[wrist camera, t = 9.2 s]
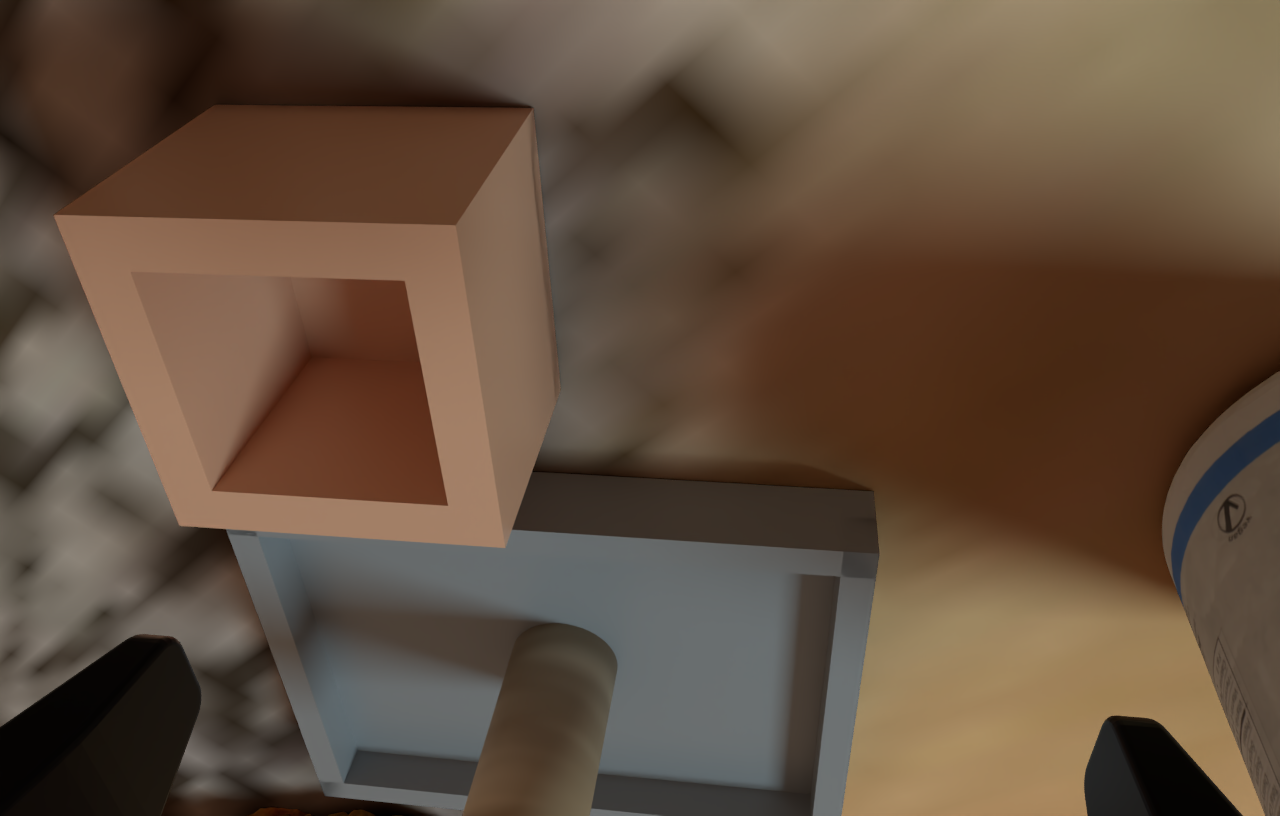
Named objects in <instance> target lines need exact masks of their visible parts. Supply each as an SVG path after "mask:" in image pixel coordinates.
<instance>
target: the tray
mask: <svg viewBox="0 0 1280 816" xmlns="http://www.w3.org/2000/svg"><path fill="white" fill-rule="evenodd" d="M226 531H227V533H228V536H229V539H230V542H231V544H232V547H233V550H234V552H235V555H236V558H237V560H238V563H239V566H240V568H241V571H242V574H243V577H244V579H245V582H246V585H247V587H248V590H249V593H250V595H251V598H252V601H253V604H254V606H255V609H256V612H257V614H258V617H259V620H260V622H261V625H262V628H263V630H264V633H265V636H266V639H267V641H268V644H269V647H270V649H271V652H272V655H273V657H274V660H275V663H276V666H277V668H278V671H279V674H280V676H281V679H282V682H283V684H284V687H285V690H286V692H287V695H288V698H289V701H290V703H291V706H292V709H293V711H294V714H295V717H296V719H297V722H298V725H299V728H300V730H301V733H302V736H303V738H304V741H305V744H306V746H307V749H308V752H309V754H310V757H311V760H312V763H313V765H314V768H315V771H316V773H317V776H318V779H319V781H320V784H321V787H322V790H323V792H324V795H325V796H330V797H340V798H350V799H359V800H369V801H379V802H388V803H398V804H408V805H417V806H427V807H437V808H446V809H456V810H464V808H465V805H466V801H467V798H468V795H469V792H470V788H471V785H472V782H473V778H474V775H475V772H476V769H477V765H478V762H479V759H480V755H481V752H482V749H483V745H484V742H485V739H486V736H487V732H488V729H489V726H490V722H491V719H492V716H493V713H494V709H495V706H496V703H497V699H498V696H499V693H500V690H501V686H502V683H503V680H504V676H505V673H506V670H507V667H508V663H509V660H510V657H511V653H512V650H513V647H514V644H515V642H516V640H517V638H518V637H519V636H520V635H521V634H522V633H523V632H525V631H526V630H528V629H530V628H532V627H535V626H538V625H542V624H550V623H561V624H569V625H573V626H577V627H580V628H583V629H585V630H588V631H590V632H592V633H594V634H595V635H597V636H598V637H600V638H601V639H602V640H604V641H605V642H606V643H607V644H608V645H609V646H610V648H611V649H612V650H613V652H614V654H615V656H616V659H617V664H618V668H617V674H616V679H615V685H614V690H613V695H612V701H611V706H610V711H609V716H608V722H607V727H606V732H605V738H604V743H603V748H602V753H601V759H600V764H599V769H598V775H597V780H596V785H595V790H594V796H593V801H592V806H591V812H590V816H841V814H842V807H843V800H844V793H845V787H846V780H847V773H848V766H849V759H850V752H851V745H852V739H853V732H854V725H855V718H856V711H857V704H858V697H859V690H860V684H861V677H862V670H863V663H864V656H865V649H866V642H867V636H868V629H869V622H870V615H871V608H872V601H873V594H874V587H875V581H876V574H877V567H878V560H879V544H878V534H877V523H876V512H875V501H874V491H857V490H840V489H823V488H805V487H788V486H771V485H754V484H736V483H719V482H702V481H684V480H667V479H650V478H633V477H615V476H598V475H581V474H564V473H546V472H532V473H531V476H530V479H529V482H528V485H527V488H526V490H525V493H524V496H523V499H522V502H521V505H520V508H519V511H518V513H517V516H516V519H515V522H514V525H513V528H512V531H511V533H510V536H509V539H508V542H507V545H506V548H497V547H483V546H468V545H453V544H439V543H424V542H409V541H395V540H380V539H365V538H351V537H336V536H321V535H307V534H292V533H277V532H263V531H248V530H233V529H226Z"/></svg>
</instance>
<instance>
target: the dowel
mask: <svg viewBox="0 0 1280 816" xmlns="http://www.w3.org/2000/svg"><path fill="white" fill-rule="evenodd" d="M617 668H618V664H617V659H616V656H615V654H614V652H613V650H612V649H611V648H610V646H609V645H608V644H607V643H606V642H605V641H604V640H602V639H601V638H600V637H598V636H597V635H595V634H594V633H592V632H590V631H588V630H585V629H583V628H580V627H577V626H573V625H569V624H561V623H550V624H542V625H538V626H535V627H532V628H530V629H528V630H526V631H525V632H523V633H522V634H521V635H520V636H519V637H518V638H517V640H516V642H515V644H514V647H513V650H512V653H511V657H510V660H509V663H508V667H507V670H506V673H505V676H504V680H503V683H502V686H501V690H500V693H499V696H498V699H497V703H496V706H495V709H494V713H493V716H492V719H491V722H490V726H489V729H488V732H487V736H486V739H485V742H484V745H483V749H482V752H481V755H480V759H479V762H478V765H477V769H476V772H475V775H474V778H473V782H472V785H471V788H470V792H469V795H468V798H467V801H466V805H465V808H464V811H463V815H462V816H590V812H591V806H592V801H593V796H594V790H595V785H596V780H597V775H598V769H599V764H600V759H601V753H602V748H603V743H604V738H605V732H606V727H607V722H608V716H609V711H610V706H611V701H612V695H613V690H614V685H615V679H616V674H617Z"/></svg>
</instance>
